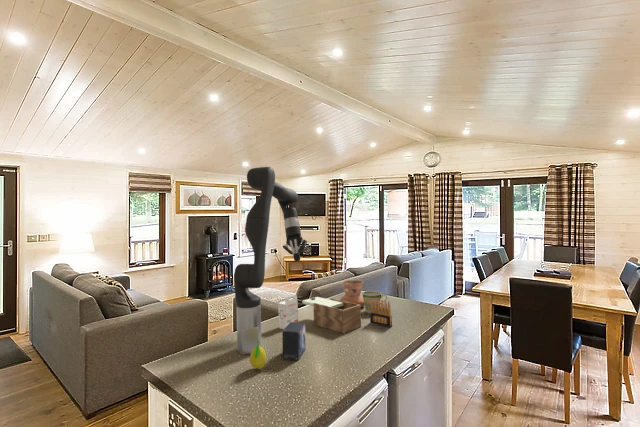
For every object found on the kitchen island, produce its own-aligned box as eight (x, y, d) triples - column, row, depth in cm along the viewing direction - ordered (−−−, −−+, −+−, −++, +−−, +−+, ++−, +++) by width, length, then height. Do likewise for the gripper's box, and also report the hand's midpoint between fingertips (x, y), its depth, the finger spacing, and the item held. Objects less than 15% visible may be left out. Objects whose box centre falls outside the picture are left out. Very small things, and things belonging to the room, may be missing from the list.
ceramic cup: (361, 313, 174) (360, 294, 174) (364, 308, 184) (364, 290, 184) (386, 315, 171) (386, 295, 171) (388, 310, 180) (387, 291, 180)
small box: (299, 361, 119) (298, 331, 119) (281, 360, 120) (281, 330, 120) (306, 349, 129) (305, 322, 129) (290, 348, 130) (289, 321, 130)
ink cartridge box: (290, 323, 161) (290, 292, 161) (298, 325, 158) (297, 294, 158) (278, 328, 154) (277, 296, 154) (286, 330, 151) (285, 297, 151)
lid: (343, 305, 161) (343, 300, 161) (328, 310, 153) (328, 304, 153) (317, 299, 173) (317, 294, 173) (302, 303, 166) (302, 298, 166)
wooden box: (361, 326, 154) (360, 304, 154) (343, 333, 146) (343, 310, 146) (331, 318, 168) (330, 298, 168) (313, 324, 159) (313, 303, 159)
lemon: (260, 363, 118) (259, 334, 118) (271, 367, 114) (271, 338, 114) (244, 370, 112) (244, 340, 112) (256, 375, 109) (255, 344, 109)
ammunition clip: (392, 326, 154) (391, 300, 154) (390, 327, 152) (389, 301, 152) (372, 322, 160) (371, 297, 161) (370, 323, 159) (369, 297, 159)
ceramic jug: (357, 312, 177) (357, 285, 178) (334, 308, 185) (334, 282, 185) (371, 304, 193) (371, 280, 193) (348, 301, 200) (349, 277, 201)
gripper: (277, 229, 166) (282, 263, 160) (301, 222, 162) (307, 256, 156) (283, 233, 173) (288, 265, 166) (307, 226, 169) (312, 259, 163)
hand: (297, 261), depth 161 cm, fingers closed
